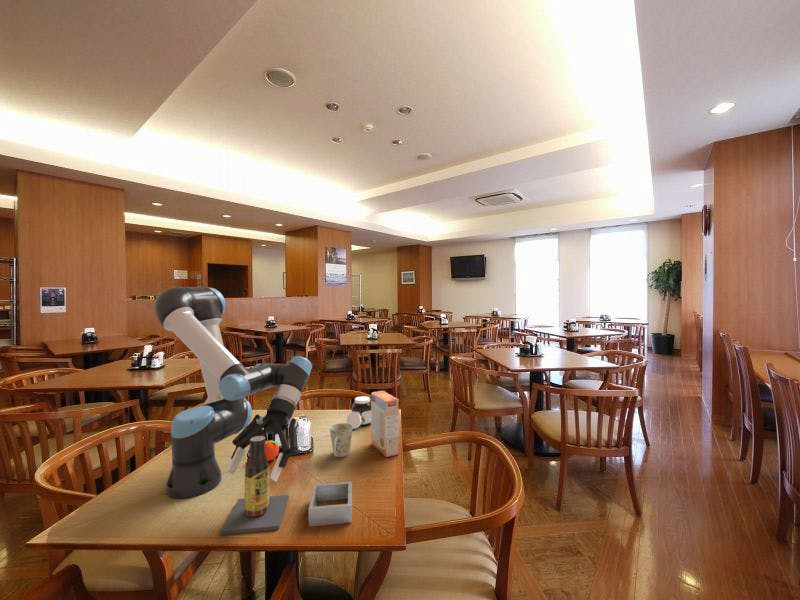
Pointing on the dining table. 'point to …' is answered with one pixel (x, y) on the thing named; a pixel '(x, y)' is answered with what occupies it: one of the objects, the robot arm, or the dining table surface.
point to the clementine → (271, 449)
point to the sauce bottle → (256, 479)
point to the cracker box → (385, 423)
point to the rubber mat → (264, 522)
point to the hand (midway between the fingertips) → (251, 476)
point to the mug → (341, 439)
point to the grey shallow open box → (330, 512)
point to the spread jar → (360, 413)
